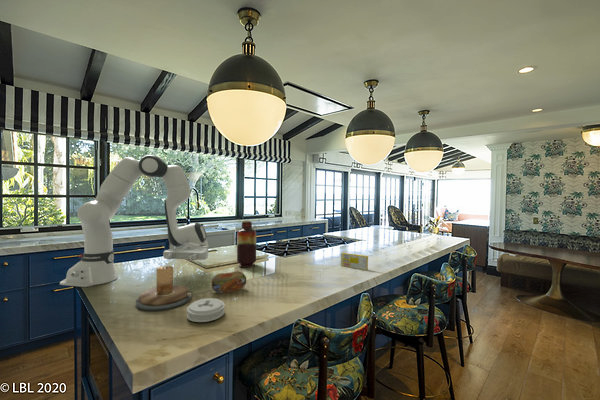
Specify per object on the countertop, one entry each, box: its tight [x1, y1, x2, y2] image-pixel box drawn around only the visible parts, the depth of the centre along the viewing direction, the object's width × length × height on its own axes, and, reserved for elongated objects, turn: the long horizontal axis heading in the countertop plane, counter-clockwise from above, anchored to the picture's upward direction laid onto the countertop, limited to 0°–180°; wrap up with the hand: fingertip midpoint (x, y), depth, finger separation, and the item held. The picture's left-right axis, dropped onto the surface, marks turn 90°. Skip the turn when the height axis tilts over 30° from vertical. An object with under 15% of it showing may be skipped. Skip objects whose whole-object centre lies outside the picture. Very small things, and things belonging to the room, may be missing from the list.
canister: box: [155, 265, 174, 295], centre depth 111 cm, size 6×6×10 cm
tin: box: [210, 270, 247, 295], centre depth 122 cm, size 15×3×8 cm, turn 117°
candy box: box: [340, 252, 369, 272], centre depth 160 cm, size 16×2×8 cm, turn 58°
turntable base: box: [135, 289, 193, 312], centre depth 111 cm, size 20×20×2 cm
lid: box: [186, 297, 226, 323], centre depth 98 cm, size 13×13×5 cm
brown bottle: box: [236, 220, 257, 269], centre depth 163 cm, size 11×11×26 cm
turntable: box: [138, 284, 192, 306], centre depth 111 cm, size 20×18×2 cm
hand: (179, 258), depth 126 cm, fingers open, 8 cm apart
